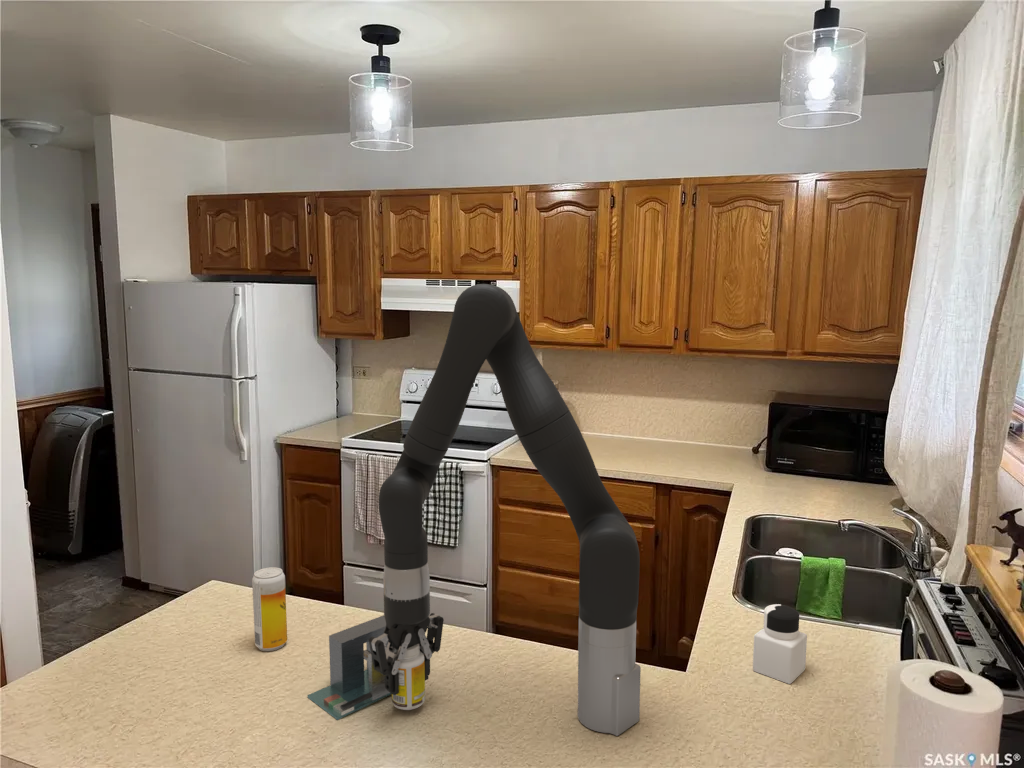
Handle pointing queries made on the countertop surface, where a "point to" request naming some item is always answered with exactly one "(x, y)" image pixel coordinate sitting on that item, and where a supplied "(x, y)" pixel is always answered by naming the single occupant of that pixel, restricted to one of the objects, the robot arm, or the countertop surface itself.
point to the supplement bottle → (411, 680)
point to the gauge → (348, 669)
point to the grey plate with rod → (370, 684)
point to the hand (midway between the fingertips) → (408, 685)
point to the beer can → (269, 608)
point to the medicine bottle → (780, 645)
